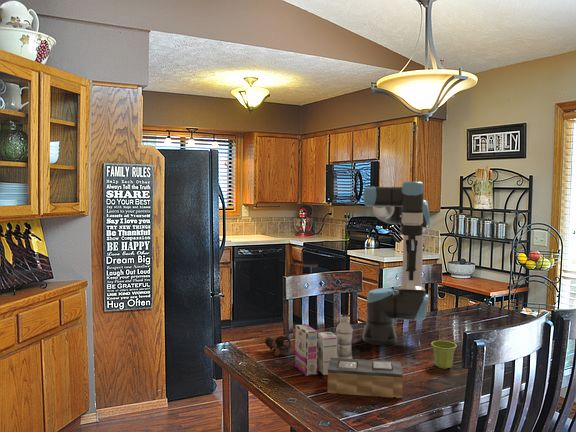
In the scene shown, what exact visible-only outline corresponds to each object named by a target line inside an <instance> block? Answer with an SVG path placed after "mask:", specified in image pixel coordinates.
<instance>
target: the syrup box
mask: <svg viewBox="0 0 576 432" xmlns="http://www.w3.org/2000/svg"><path fill="white" fill-rule="evenodd" d="M337 347H338V343H337V334H335V333H334V332H332V331H322V332H318V366H317V367H318V368H317V371H318V372H319V373H321V374H322V375H323V376H328V367H329V362H330V358H337Z"/></svg>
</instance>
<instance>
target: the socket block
mask: <svg viewBox="0 0 576 432" xmlns="http://www.w3.org/2000/svg"><path fill="white" fill-rule="evenodd" d="M339 361H347V362H357V369H354V368H338V367H339ZM373 361H376V362H391V367H392V371H385V370H373ZM403 375H404V374H403V370H402V363H401V361H390V360H380V359H379V360H376V359H374V360H373V359H360V358H353V359H346V358H330V362H329V367H328V375H327V393H328V394H337V393H338V394H340V395H354V396H355V395H356V396H366V397H367V396H369V397H379V396H380V398H381V397H382V398H393V397H396V398H395V399H403V377H404V376H403Z"/></svg>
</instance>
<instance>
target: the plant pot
mask: <svg viewBox="0 0 576 432" xmlns="http://www.w3.org/2000/svg"><path fill="white" fill-rule="evenodd" d="M430 344H431V346H432V350H433V357H434V364H435V366H436V367H438V368H439V369H445V370H446V369H448V368H450V369H451V368H452V367H453V360H454V355H455V351H456V349H457V344H456V343H455V342H452V341H449V340H434V341H432V342H431V343H430Z"/></svg>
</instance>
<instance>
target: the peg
mask: <svg viewBox="0 0 576 432" xmlns="http://www.w3.org/2000/svg"><path fill="white" fill-rule="evenodd" d="M373 370H385V371H392V367H391V362H376V361H373Z"/></svg>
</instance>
